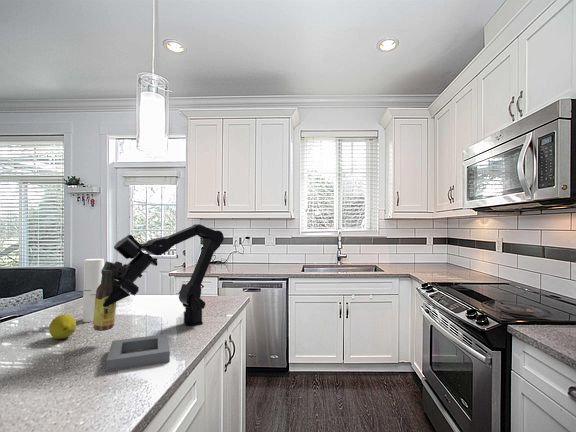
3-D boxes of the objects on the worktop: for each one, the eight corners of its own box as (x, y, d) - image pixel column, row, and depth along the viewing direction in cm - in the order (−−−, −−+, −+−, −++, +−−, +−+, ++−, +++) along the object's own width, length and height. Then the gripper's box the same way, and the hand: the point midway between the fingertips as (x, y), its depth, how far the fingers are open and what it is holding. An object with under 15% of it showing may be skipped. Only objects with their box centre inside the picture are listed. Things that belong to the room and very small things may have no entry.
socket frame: (166, 343, 105) (166, 333, 106) (169, 361, 91) (169, 351, 91) (112, 350, 99) (112, 340, 99) (106, 371, 84) (106, 360, 84)
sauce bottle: (104, 333, 101) (108, 272, 100) (88, 330, 103) (91, 270, 102) (119, 325, 108) (122, 268, 107) (103, 322, 109) (106, 266, 108)
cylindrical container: (88, 317, 135) (90, 258, 136) (105, 316, 136) (107, 258, 137) (78, 322, 128) (80, 260, 129) (97, 321, 129) (98, 260, 130)
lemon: (50, 335, 112) (51, 313, 112) (77, 332, 116) (77, 310, 116) (45, 345, 103) (46, 321, 103) (74, 341, 107) (75, 317, 107)
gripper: (110, 251, 114) (73, 285, 106) (128, 254, 101) (88, 294, 93) (132, 270, 120) (99, 305, 112) (153, 275, 107) (117, 315, 99)
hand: (100, 304), depth 104 cm, fingers closed on sauce bottle, 6 cm apart
